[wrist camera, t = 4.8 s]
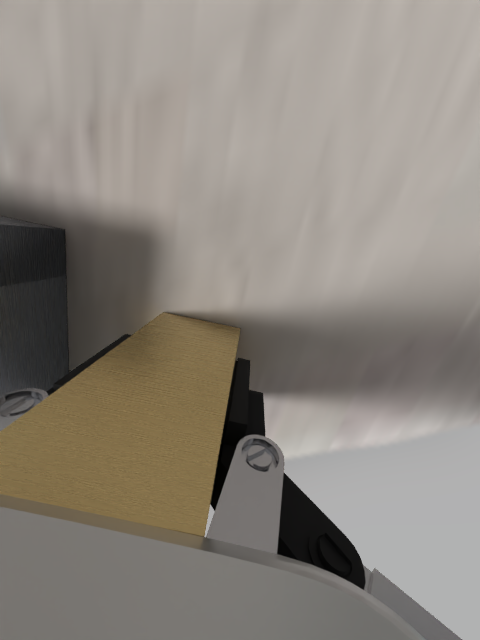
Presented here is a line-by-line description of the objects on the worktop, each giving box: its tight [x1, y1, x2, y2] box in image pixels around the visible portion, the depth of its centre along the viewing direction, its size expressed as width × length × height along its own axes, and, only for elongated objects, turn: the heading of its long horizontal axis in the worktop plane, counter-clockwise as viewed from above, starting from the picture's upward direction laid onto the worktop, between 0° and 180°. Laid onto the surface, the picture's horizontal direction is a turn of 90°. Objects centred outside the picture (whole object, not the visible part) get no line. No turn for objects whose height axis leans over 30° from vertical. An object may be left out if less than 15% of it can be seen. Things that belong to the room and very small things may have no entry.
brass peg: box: [0, 312, 241, 537], centre depth 8 cm, size 4×4×9 cm
